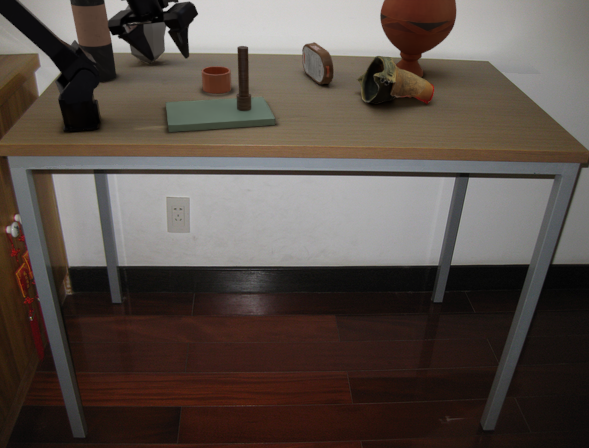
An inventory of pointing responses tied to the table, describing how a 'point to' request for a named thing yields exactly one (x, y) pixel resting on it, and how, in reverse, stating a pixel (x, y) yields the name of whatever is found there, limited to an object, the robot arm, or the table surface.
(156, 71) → the table surface
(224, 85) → the cup
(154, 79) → the table surface
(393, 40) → the goblet
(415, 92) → the pot
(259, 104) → the board
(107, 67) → the travel mug
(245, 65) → the stirrer
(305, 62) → the tin
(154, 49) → the grey tall faceted solid
